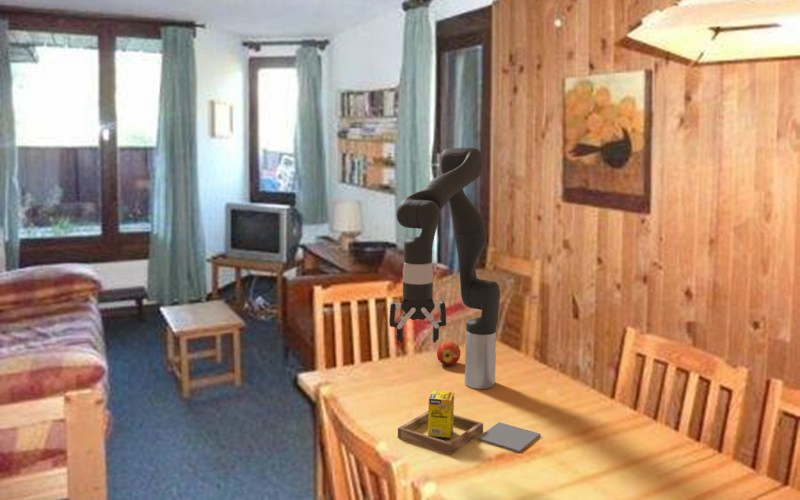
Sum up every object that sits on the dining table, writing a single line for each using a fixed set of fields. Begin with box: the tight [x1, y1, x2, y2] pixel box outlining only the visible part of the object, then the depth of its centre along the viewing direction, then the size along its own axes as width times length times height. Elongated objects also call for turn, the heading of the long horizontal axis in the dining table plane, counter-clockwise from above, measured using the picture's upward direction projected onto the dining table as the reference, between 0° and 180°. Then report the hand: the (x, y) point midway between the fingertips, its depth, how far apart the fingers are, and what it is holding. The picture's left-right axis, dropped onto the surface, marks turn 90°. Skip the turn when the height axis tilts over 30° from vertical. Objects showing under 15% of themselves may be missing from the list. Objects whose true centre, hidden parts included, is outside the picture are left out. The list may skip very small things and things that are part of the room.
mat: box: [476, 421, 541, 454], centre depth 176 cm, size 12×12×1 cm
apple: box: [436, 340, 461, 366], centre depth 232 cm, size 8×8×8 cm
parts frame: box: [397, 410, 484, 455], centre depth 178 cm, size 16×16×2 cm
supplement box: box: [427, 389, 455, 441], centre depth 177 cm, size 6×6×11 cm
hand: (417, 342), depth 174 cm, fingers open, 8 cm apart
